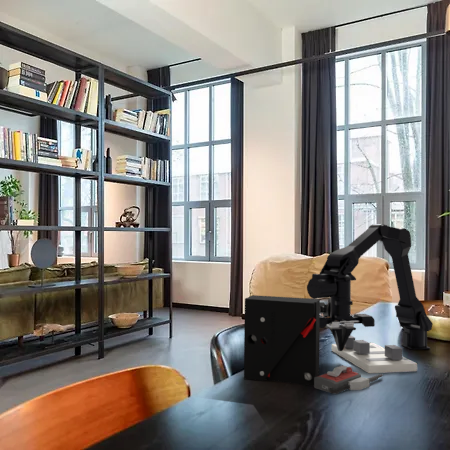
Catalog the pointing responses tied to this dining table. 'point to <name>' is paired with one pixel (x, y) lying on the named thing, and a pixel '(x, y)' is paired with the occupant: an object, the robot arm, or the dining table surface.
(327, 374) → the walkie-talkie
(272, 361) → the electrical component
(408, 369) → the switch board
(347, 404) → the dining table surface
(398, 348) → the grey squarish block
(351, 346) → the grey plastic block
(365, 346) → the grey block
